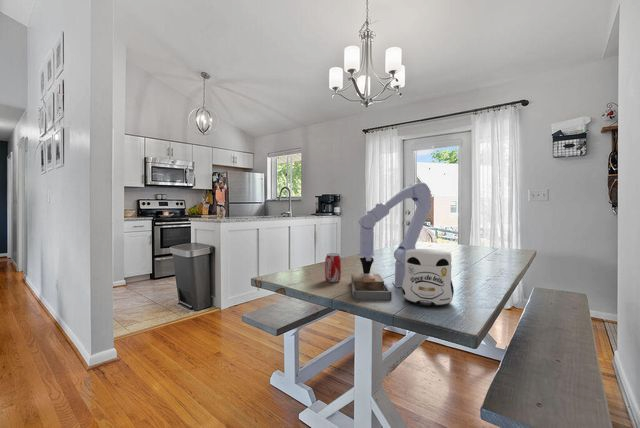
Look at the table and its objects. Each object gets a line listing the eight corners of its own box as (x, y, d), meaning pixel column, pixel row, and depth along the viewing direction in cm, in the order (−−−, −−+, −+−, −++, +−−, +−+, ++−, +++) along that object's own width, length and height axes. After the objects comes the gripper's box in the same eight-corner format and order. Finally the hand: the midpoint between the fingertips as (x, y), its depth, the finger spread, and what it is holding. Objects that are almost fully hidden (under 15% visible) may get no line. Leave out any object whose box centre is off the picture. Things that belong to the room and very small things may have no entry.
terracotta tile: (373, 279, 131) (373, 275, 131) (374, 282, 127) (375, 278, 127) (362, 279, 131) (362, 275, 131) (363, 282, 127) (363, 278, 127)
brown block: (378, 283, 141) (379, 274, 141) (384, 291, 128) (384, 281, 128) (351, 282, 141) (351, 273, 141) (353, 291, 128) (353, 281, 128)
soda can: (341, 283, 141) (341, 255, 140) (324, 282, 141) (325, 255, 141) (340, 279, 148) (340, 253, 147) (325, 278, 148) (325, 252, 148)
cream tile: (372, 276, 136) (372, 273, 136) (373, 279, 131) (373, 275, 131) (361, 276, 136) (361, 273, 136) (362, 279, 131) (362, 275, 131)
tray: (386, 291, 128) (386, 284, 128) (391, 300, 117) (391, 291, 117) (351, 291, 128) (351, 283, 128) (353, 299, 117) (353, 291, 117)
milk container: (419, 312, 104) (420, 257, 103) (393, 297, 121) (393, 249, 120) (464, 308, 109) (465, 255, 108) (433, 293, 126) (434, 247, 125)
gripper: (355, 240, 144) (355, 271, 144) (358, 245, 129) (358, 278, 130) (371, 240, 143) (371, 271, 144) (376, 245, 129) (376, 279, 129)
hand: (366, 274), depth 137 cm, fingers closed
